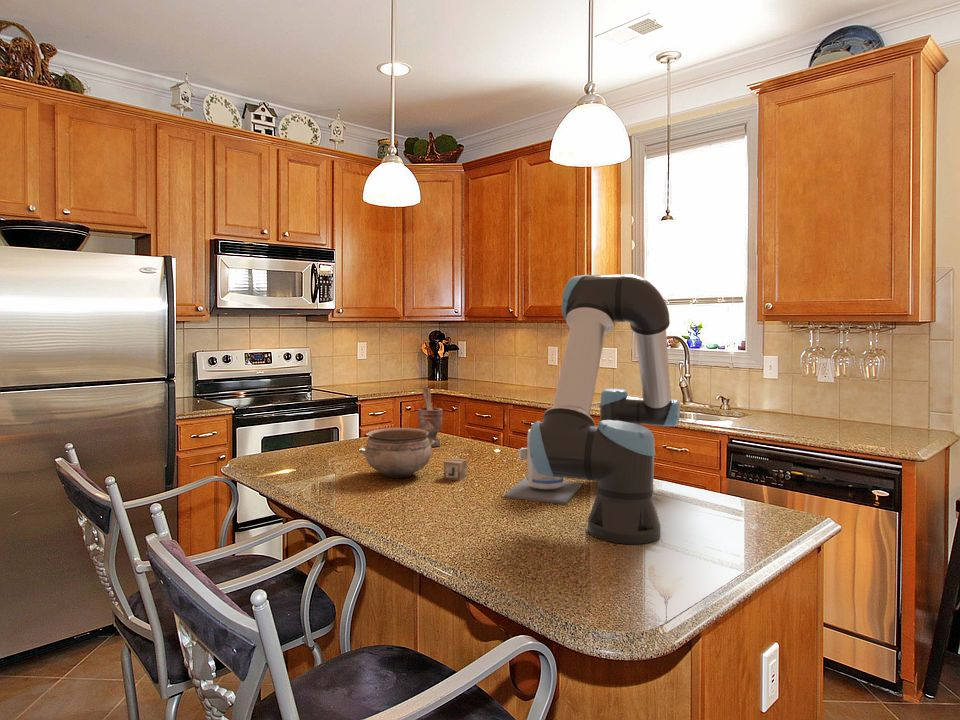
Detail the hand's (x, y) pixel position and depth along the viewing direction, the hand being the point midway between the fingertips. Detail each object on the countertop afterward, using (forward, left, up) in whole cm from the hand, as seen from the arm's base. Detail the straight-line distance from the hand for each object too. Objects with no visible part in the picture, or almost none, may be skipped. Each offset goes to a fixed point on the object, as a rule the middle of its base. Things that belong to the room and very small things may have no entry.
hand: (533, 457), depth 168 cm
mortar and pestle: (+48, +52, -10) cm, 71 cm away
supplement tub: (+4, -2, -8) cm, 9 cm away
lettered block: (+8, +25, -10) cm, 28 cm away
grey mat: (+4, -2, -9) cm, 10 cm away
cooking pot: (+4, +41, -10) cm, 42 cm away
